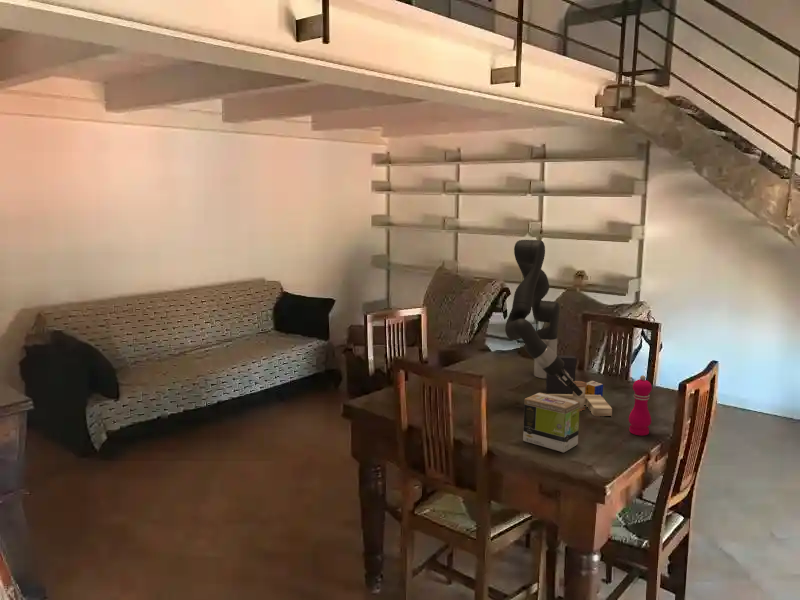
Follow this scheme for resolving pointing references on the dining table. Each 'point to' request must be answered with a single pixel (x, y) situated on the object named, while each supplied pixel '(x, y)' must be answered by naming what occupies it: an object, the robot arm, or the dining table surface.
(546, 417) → the tea box
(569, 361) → the black rectangular block
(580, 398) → the spool
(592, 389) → the puzzle toy
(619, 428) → the dining table surface
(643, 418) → the pepper mill
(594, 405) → the notch board
